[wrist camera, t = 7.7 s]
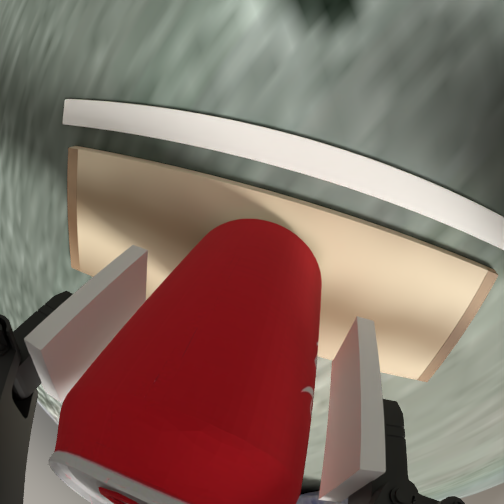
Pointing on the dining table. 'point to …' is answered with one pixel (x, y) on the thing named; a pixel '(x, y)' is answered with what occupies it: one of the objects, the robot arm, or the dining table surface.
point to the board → (300, 223)
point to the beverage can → (204, 381)
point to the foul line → (292, 159)
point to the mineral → (316, 499)
